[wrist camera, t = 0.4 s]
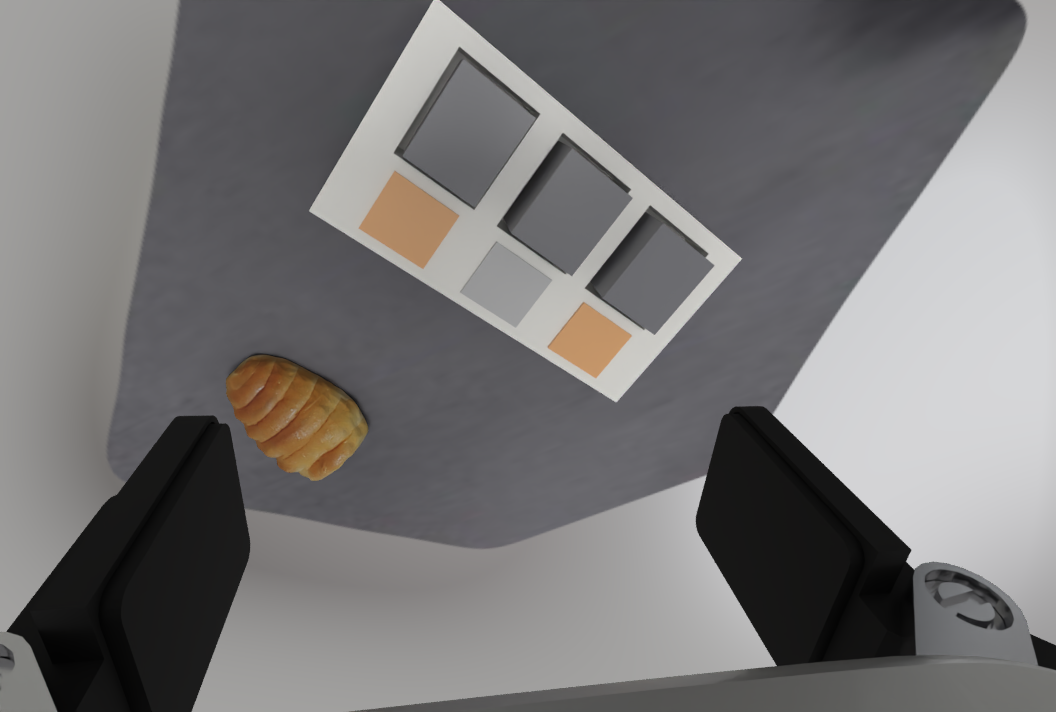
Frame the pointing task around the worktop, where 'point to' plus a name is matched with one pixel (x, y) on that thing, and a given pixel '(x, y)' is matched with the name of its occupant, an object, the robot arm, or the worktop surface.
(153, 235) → the worktop surface
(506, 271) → the switch box
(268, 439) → the pastry
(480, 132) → the button
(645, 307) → the button
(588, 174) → the button
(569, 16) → the worktop surface
